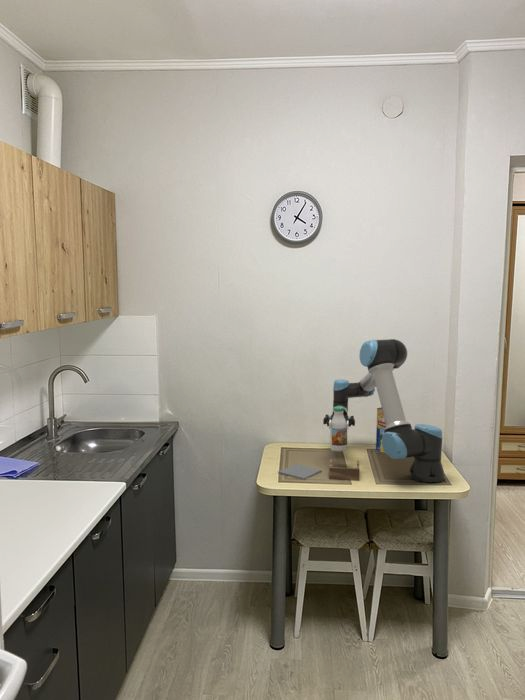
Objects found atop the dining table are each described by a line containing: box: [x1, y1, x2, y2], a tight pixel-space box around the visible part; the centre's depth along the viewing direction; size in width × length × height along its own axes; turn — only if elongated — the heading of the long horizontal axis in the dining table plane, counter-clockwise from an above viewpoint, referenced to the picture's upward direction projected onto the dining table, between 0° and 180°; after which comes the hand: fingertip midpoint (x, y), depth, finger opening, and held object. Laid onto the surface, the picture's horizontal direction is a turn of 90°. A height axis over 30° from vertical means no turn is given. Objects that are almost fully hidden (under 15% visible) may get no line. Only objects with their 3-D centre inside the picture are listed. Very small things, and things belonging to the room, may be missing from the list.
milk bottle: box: [329, 406, 348, 452], centre depth 268 cm, size 8×8×20 cm
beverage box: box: [375, 407, 387, 454], centre depth 292 cm, size 7×11×22 cm, turn 38°
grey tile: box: [277, 463, 322, 481], centre depth 261 cm, size 14×14×1 cm
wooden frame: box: [328, 458, 360, 481], centre depth 257 cm, size 12×13×5 cm
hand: (338, 426), depth 263 cm, fingers closed on milk bottle, 7 cm apart
